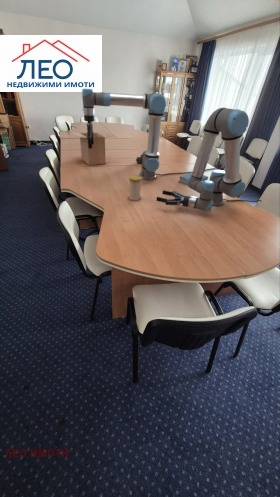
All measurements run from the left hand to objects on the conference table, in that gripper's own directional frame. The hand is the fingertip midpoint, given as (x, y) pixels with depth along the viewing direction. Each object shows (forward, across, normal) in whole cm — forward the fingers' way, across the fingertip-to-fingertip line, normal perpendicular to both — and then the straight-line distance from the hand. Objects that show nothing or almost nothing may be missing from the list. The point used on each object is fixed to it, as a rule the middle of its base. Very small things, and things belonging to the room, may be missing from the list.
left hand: (91, 146), depth 173 cm
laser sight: (+28, -58, +52) cm, 82 cm away
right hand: (+21, +43, +50) cm, 69 cm away
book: (+28, -5, +90) cm, 94 cm away
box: (+28, -60, -5) cm, 67 cm away
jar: (+28, +33, +33) cm, 54 cm away
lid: (+13, +33, +33) cm, 48 cm away
